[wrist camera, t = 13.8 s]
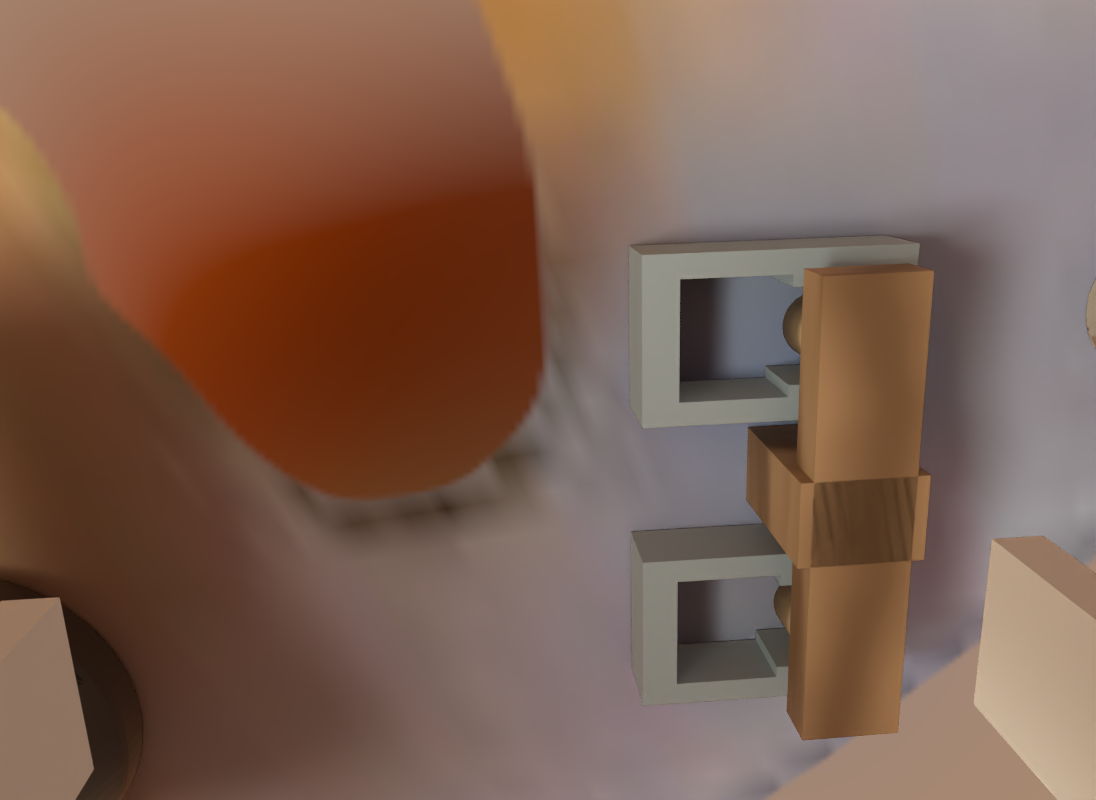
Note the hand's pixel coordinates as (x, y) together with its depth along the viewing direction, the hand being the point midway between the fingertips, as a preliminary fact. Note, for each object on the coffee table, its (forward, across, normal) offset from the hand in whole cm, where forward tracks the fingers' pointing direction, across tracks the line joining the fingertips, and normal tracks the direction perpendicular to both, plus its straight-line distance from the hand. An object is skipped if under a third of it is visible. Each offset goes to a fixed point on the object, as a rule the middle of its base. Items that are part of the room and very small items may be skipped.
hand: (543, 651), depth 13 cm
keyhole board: (+27, +11, -8) cm, 30 cm away
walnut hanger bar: (+27, +13, -8) cm, 31 cm away
